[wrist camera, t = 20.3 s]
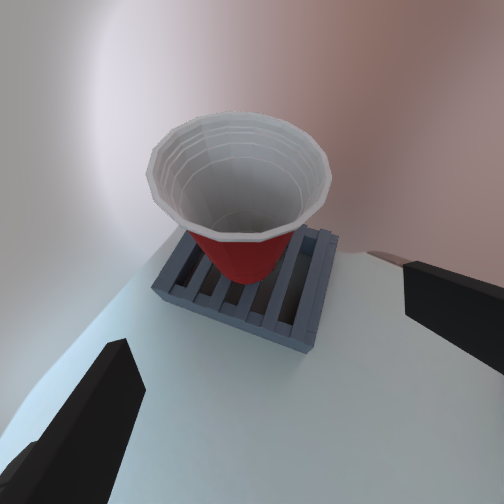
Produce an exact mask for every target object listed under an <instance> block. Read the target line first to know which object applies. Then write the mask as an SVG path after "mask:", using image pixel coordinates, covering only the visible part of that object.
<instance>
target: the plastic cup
mask: <svg viewBox="0 0 504 504" xmlns="http://www.w3.org/2000/svg"><path fill="white" fill-rule="evenodd" d="M146 177H147V180H148V183H149V187H150V190H151V193H152V197H153V200H154V202H155V203H156V204H157V205H158V206H159V207H161V209H163V210H164V211H165V212H166V213H167V214H168V215H169V216H170V217H171V218H172V219H173V220H174V221H175V222H176V223H177V224H178V225H180V226H181V227H182V228H183V229H186V230H187V231H188V232H189V233H190V235H191V236H192V237H193V239H194V240H195V241H196V242H197V244H198V245H199V246H200V248H201V249H202V250H203V252H204V253H205V254H206V256H207V257H208V258H209V259H210V261H211V262H213V263H214V264H215V265H216V267H217V268H218V269H219V271H220V272H221V273H222V274H223V275H224V276H226V277H227V278H228V279H229V280H231V281H234V282H236V283H239V284H254V283H256V282H259V281H261V280H263V279H265V278H266V277H267V276H268V275H269V274H270V273H271V272H272V271H273V270H274V267H275V265H276V263H277V261H278V260H279V259H280V257H281V256H282V254H283V252H284V250H285V248H286V246H287V244H288V243H289V241H290V239H291V237H292V235H293V233H294V231H295V230H297V229H298V228H299V227H300V226H301V225H302V224H303V223H304V222H306V221H307V220H308V219H309V218H310V217H311V216H312V215H313V214H314V213H315V212H317V211H318V210H319V209H320V208H321V207H322V206H323V205H324V203H325V200H326V197H327V194H328V191H329V188H330V185H331V182H332V175H331V171H330V167H329V163H328V159H327V155H326V154H325V152H324V151H323V150H322V149H321V148H320V147H319V145H318V144H317V143H316V142H315V141H314V140H313V138H311V136H310V135H309V134H307V133H306V132H304V131H302V130H300V129H299V128H297V127H295V126H294V125H292V124H290V123H288V122H287V121H285V120H281V119H278V118H274V117H271V116H267V115H263V114H260V113H254V112H252V113H251V112H227V111H226V112H221V113H216V114H211V115H206V116H201V117H197V118H195V119H192V120H190V121H188V122H186V123H184V124H182V125H180V126H178V127H176V128H174V129H172V130H171V131H170V132H169V133H168V134H167V135H166V136H165V137H164V138H163V139H162V140H161V141H160V142H159V143H158V145H157V146H156V147H155V148H154V149H153V151H152V154H151V158H150V161H149V164H148V168H147V171H146Z"/></svg>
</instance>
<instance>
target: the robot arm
mask: <svg viewBox="0 0 504 504" xmlns="http://www.w3.org/2000/svg"><path fill="white" fill-rule="evenodd" d="M403 275H404V297H405V315H407V316H408V317H410V318H412V319H413V320H415V321H417V322H418V323H420V324H421V325H423V326H425V327H426V328H428V329H430V330H431V331H433V332H434V333H436V334H438V335H439V336H441V337H443V338H444V339H446V340H448V341H449V342H451V343H452V344H454V345H456V346H457V347H459V348H461V349H462V350H464V351H465V352H467V353H469V354H470V355H472V356H474V357H475V358H477V359H478V360H480V361H482V362H483V363H485V364H487V365H488V366H490V367H492V368H493V369H495V370H496V371H498V372H500V373H501V374H503V375H504V288H502V287H499V286H496V285H492V284H490V283H486V282H483V281H480V280H476V279H473V278H470V277H467V276H464V275H461V274H458V273H455V272H451V271H448V270H445V269H442V268H439V267H436V266H432V265H429V264H426V263H423V262H419V261H414V262H410V263H407V264H403ZM145 392H146V389H145V386H144V383H143V381H142V378H141V376H140V373H139V371H138V368H137V365H136V363H135V360H134V358H133V355H132V353H131V350H130V347H129V345H128V342H127V340H126V338H124V339H121V340H117V341H113V342H109V343H107V344H106V346H105V347H104V348H103V350H102V351H101V353H100V354H99V355H98V357H97V358H96V360H95V361H94V362H93V364H92V365H91V367H90V368H89V369H88V371H87V372H86V374H85V375H84V377H83V378H82V379H81V381H80V382H79V384H78V385H77V386H76V388H75V389H74V391H73V392H72V393H71V395H70V396H69V398H68V399H67V400H66V402H65V403H64V405H63V406H62V407H61V409H60V410H59V412H58V413H57V414H56V416H55V417H54V419H53V420H52V421H51V423H50V424H49V426H48V427H47V429H46V430H45V431H44V433H43V434H42V436H41V437H40V438H39V440H38V441H35V442H31V443H30V444H29V445H28V446H27V447H26V448H25V449H24V450H23V451H22V452H21V453H20V454H19V455H18V456H17V457H16V458H14V459H13V460H12V461H11V462H10V463H9V464H8V466H7V467H6V468H5V470H4V471H3V472H2V474H1V475H0V504H107V503H108V500H109V498H110V495H111V492H112V489H113V486H114V483H115V480H116V477H117V474H118V471H119V468H120V465H121V462H122V459H123V456H124V453H125V450H126V447H127V445H128V442H129V439H130V436H131V433H132V430H133V427H134V424H135V421H136V418H137V415H138V412H139V409H140V406H141V403H142V400H143V397H144V395H145Z"/></svg>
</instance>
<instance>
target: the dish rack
mask: <svg viewBox="0 0 504 504" xmlns="http://www.w3.org/2000/svg"><path fill="white" fill-rule="evenodd" d="M338 237H339V236H337V235H332V234H331V232H330V231H327V230H323V229H320V231H318V230H314V229H310V228H307V225H305V224H302V225H301V226H300V227H299V228H298V229H297V230H295V231H294V233H293V235H292V237H291V239H290V241H289V243H288V244H287V246H286V249H287V251H286V254H285V257H284V260H283V263H282V266H281V269H280V272H279V274H278V277H277V280H276V283H275V286H274V289H273V292H272V295H271V298H270V300H269V303H268V306H267V309H266V312H265V315H261V314H259V313H256V312H253V311H250V309H251V306H252V304H253V301H254V298H255V296H256V293H257V291H258V288H259V285H260V283H261V281H259V282H256V283H254V284H246V285H245V288H244V290H243V293H242V295H241V298H240V300H239V302H238V305H237V306H236V305H233V304H231V303H228V302H225V301H224V299H225V297H226V295H227V293H228V290H229V288H230V286H231V284H232V281H231V280H229V279H228V278H227V277H226V276H224V275H223V274H222V275H221V277H220V279H219V281H218V283H217V285H216V288H215V290H214V292H213V294H212V296H208V295H205V294H202V293H200V292H199V291H200V289H201V287H202V285H203V283H204V281H205V279H206V277H207V275H208V273H209V271H210V269H211V267H212V265H213V262H211V261H210V259H209V258H208V257H207V256H206V254H204V256H203V258H202V260H201V262H200V264H199V266H198V267H197V269H196V271H195V273H194V275H193V277H192V279H191V280H190V282H189V284H188V286H187V288H186V287H183V284H184V282H185V280H186V278H187V277H188V275H189V273H190V271H191V269H192V267H193V266H194V264H195V262H196V260H197V258H198V257H199V255H200V253H201V251H202V249H201V248H200V246H199V245H198V244H197V242H196V241H195V240H194V239H193V237H192V236H191V235H190V233H189V232H188V231H187V230H186V232H185V233H184V235H183V237H182V238H181V240H180V241H179V243H178V245H177V246H176V248H175V250H174V251H173V253H172V254H171V256H170V258H169V259H168V261H167V262H166V264H165V266H164V267H163V269H162V271H161V272H160V274H159V275H158V278H156V280H155V282H154V283H153V285H152V286H151V289H152V290H154V291H155V292H156V293H157V294H158V295H159V296H160V297H161V298H162V299H163V300H164V301H167V302H169V303H172V304H175V305H177V306H180V307H183V308H185V309H188V310H191V311H193V312H196V313H199V314H201V315H204V316H207V317H209V318H212V319H215V320H217V321H220V322H223V323H225V324H228V325H230V326H233V327H236V328H238V329H241V330H244V331H246V332H249V333H252V334H254V335H257V336H260V337H262V338H265V339H268V340H270V341H273V342H276V343H278V344H281V345H284V346H286V347H289V348H292V349H294V350H297V351H300V352H302V353H305V354H307V353H308V352H309V351H310V350H311V349H312V348H313V347H314V342H315V338H316V333H317V329H318V325H319V320H320V316H321V312H322V307H323V303H324V299H325V294H326V290H327V286H328V281H329V277H330V272H331V268H332V264H333V259H334V255H335V251H336V246H337V242H338ZM299 252H300V253H303V254H306V255H310V256H312V259H311V263H310V266H309V270H308V273H307V277H306V280H305V284H304V287H303V291H302V295H301V298H300V302H299V305H298V309H297V312H296V316H295V319H294V323H293V326H292V325H290V324H287V323H284V322H281V321H278V317H279V314H280V310H281V307H282V304H283V301H284V298H285V295H286V291H287V288H288V285H289V282H290V279H291V276H292V272H293V269H294V266H295V263H296V260H297V257H298V253H299Z"/></svg>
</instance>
